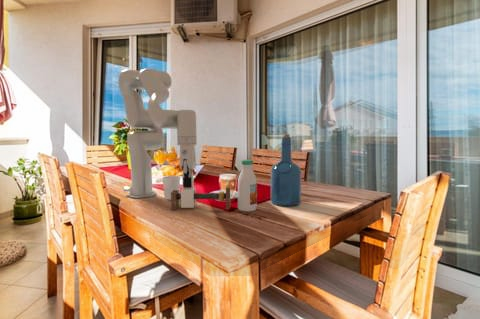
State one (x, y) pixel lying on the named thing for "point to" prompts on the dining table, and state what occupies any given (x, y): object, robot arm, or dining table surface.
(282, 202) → the wine bottle
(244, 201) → the milk bottle
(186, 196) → the marker sleeve
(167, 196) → the white cup
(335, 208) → the dining table surface
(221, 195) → the cord rail
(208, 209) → the dining table surface
